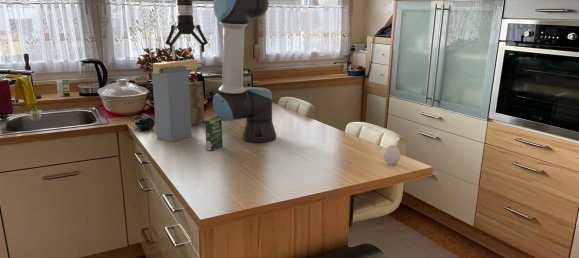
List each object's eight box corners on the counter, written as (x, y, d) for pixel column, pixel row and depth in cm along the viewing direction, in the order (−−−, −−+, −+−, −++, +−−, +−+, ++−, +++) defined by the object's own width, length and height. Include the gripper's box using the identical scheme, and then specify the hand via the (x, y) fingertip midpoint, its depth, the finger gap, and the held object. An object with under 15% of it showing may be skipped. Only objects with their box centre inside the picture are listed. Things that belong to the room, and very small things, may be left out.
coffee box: (211, 151, 182) (209, 120, 179) (205, 150, 183) (204, 119, 180) (223, 146, 189) (222, 116, 186) (217, 145, 190) (216, 115, 187)
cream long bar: (191, 68, 209) (191, 59, 208) (197, 68, 206) (197, 60, 205) (153, 72, 191) (152, 63, 190) (159, 73, 189) (158, 64, 188)
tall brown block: (191, 118, 239) (189, 80, 234) (204, 121, 233) (202, 81, 228) (176, 122, 231) (174, 82, 226) (190, 125, 225) (187, 84, 220)
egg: (387, 160, 171) (389, 141, 170) (402, 164, 168) (403, 144, 166) (380, 164, 167) (381, 145, 165) (395, 168, 163) (396, 148, 161)
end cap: (155, 130, 216) (154, 116, 214) (140, 132, 212) (139, 118, 210) (149, 126, 224) (148, 112, 222) (135, 127, 220) (134, 114, 218)
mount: (177, 132, 211) (172, 65, 203) (191, 135, 206) (188, 66, 198) (156, 137, 202) (151, 67, 194) (171, 141, 196) (166, 69, 188)
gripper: (212, 14, 219) (214, 58, 223) (161, 15, 218) (164, 58, 223) (209, 14, 211) (211, 59, 216) (157, 14, 211) (160, 59, 216)
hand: (187, 59), depth 220 cm, fingers open, 13 cm apart
